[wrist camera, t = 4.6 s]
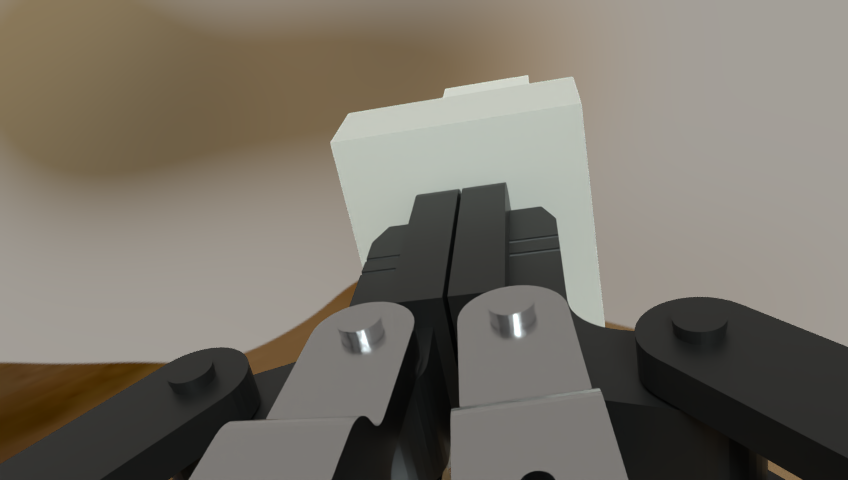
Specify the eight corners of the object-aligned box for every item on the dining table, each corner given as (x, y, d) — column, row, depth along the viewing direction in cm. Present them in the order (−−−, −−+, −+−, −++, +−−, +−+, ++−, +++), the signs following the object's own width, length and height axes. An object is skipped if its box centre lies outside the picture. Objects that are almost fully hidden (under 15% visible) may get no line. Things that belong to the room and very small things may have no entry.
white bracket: (618, 454, 14) (581, 103, 11) (415, 470, 15) (330, 143, 12) (575, 228, 23) (547, -2, 20) (448, 244, 24) (404, 24, 21)
